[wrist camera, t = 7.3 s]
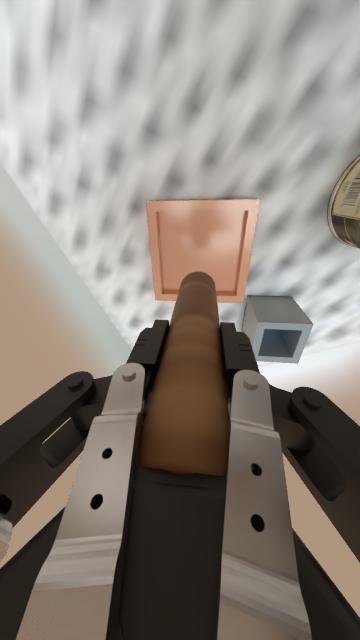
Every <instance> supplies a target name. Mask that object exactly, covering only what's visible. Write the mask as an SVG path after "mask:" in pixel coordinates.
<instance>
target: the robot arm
mask: <svg viewBox="0 0 360 640" xmlns="http://www.w3.org/2000/svg"><path fill="white" fill-rule="evenodd" d="M168 330H169V321H168V320H155V322H154V324H153V327H152V328H145V329H144V330H143V331H142V332H141V333H140V334H139V337H138V339H137V341H136V343H135V346H134V347H133V350H132V352H131V354H130V356H129V359H128V360H127V363H126V364H124V365H122V366H120V367H118V368H117V369H116V370H115V372H114V373H113V375H111V376H108V377H103V378H98V379H93V376H92V375H91V374H90V373H88V372H83V371H82V372H76V373H73V374H70V375H69V376H67V377H66V378H64V379H63V380H61V381H60V382H59V383H57V384H56V385H55V386H54V387H52V388H51V389H49V390H48V391H47V392H45V393H44V394H43V395H41V396H40V397H39V398H37V399H36V400H34V401H33V402H32V403H30V404H29V405H28V406H26V407H25V408H24V409H22V410H21V411H19V412H18V413H17V414H15V415H14V416H13V417H11V418H10V419H9V420H7V421H6V422H5V423H3V424H2V425H1V426H0V561H1V560H2V559H3V558H4V556H5V555H6V553H7V550H8V546H9V541H10V538H11V534H12V528H13V527H14V526H15V525H16V524H17V523H18V522H19V521H20V520H21V518H22V517H23V516H24V515H25V514H26V513H27V511H28V510H30V508H31V507H32V506H33V505H34V504H35V503H36V502H37V501H38V499H40V497H41V496H42V495H43V494H44V493H45V492H46V491H47V490H48V489H49V488H50V486H51V485H52V484H53V483H54V482H55V481H56V480H57V478H58V477H60V475H61V474H62V473H63V472H64V471H65V470H66V469H67V468H68V466H70V464H71V463H72V462H73V461H74V460H75V459H76V458H77V457H78V455H79V454H80V453H81V452H82V451H83V453H82V456H81V460H80V463H79V466H78V469H77V472H76V475H75V479H74V482H73V485H72V488H71V491H70V495H69V498H68V501H67V504H66V506H65V507H64V508H63V509H62V510H61V511H60V512H59V513H58V514H57V515H56V516H55V517H54V518H53V519H52V520H51V521H50V522H49V523H48V524H47V525H46V526H44V527H43V528H42V529H41V531H39V532H38V533H37V534H36V535H35V536H34V537H33V538H32V539H31V540H30V541H29V542H28V543H27V544H26V545H25V546H24V547H22V549H20V550H19V551H18V552H17V553H16V554H15V555H14V556H13V557H12V558H11V559H10V560H9V561H8V562H7V563H6V564H5V565H4V566H3V567H2V568H1V569H0V640H360V617H359V616H358V615H357V613H356V612H355V611H354V609H353V608H352V607H351V606H350V604H349V603H348V601H347V600H346V599H345V597H344V596H343V595H342V593H341V592H340V591H339V589H338V588H337V587H336V585H335V584H334V583H333V581H332V580H331V579H330V577H329V576H328V575H327V574H326V572H325V571H324V570H323V568H322V567H321V566H320V564H319V563H318V562H317V560H316V559H315V558H314V556H313V555H312V554H311V552H310V551H309V550H308V548H307V547H306V546H305V544H304V543H303V542H302V540H301V539H300V538H299V536H298V535H297V534H296V532H295V531H294V530H293V528H292V525H291V518H290V510H289V502H288V494H287V486H286V479H285V471H284V463H283V456H282V452H283V454H284V455H285V456H286V458H287V459H288V461H289V462H290V464H291V465H292V466H293V468H294V469H295V471H296V472H297V474H298V475H299V476H300V478H301V479H302V481H303V482H304V484H305V485H306V486H307V488H308V489H309V491H310V492H311V494H312V495H313V496H314V498H315V499H316V501H317V502H318V504H319V505H320V506H321V508H322V509H323V511H324V512H325V514H326V515H327V516H328V518H329V519H330V521H331V522H332V524H333V525H334V526H335V528H336V529H337V531H338V532H339V534H340V535H341V536H342V538H343V539H344V541H345V542H346V544H347V545H348V546H349V548H350V549H351V551H352V552H353V553H354V555H355V556H356V558H357V559H358V561H359V562H360V426H359V425H357V424H356V423H355V422H354V421H353V420H352V419H351V418H350V417H348V415H346V414H345V413H344V412H343V411H342V410H341V409H340V408H339V407H338V406H336V405H335V404H334V403H333V402H332V401H331V400H330V399H329V398H328V397H326V396H325V395H324V394H323V393H321V392H319V391H317V390H315V389H312V388H309V387H299V388H296V389H294V390H293V392H292V393H291V392H287V391H285V390H281V389H278V388H276V387H274V386H272V385H270V384H269V383H268V381H267V380H266V378H265V377H264V376H263V375H261V374H260V372H259V369H258V365H257V362H256V359H255V355H254V352H253V349H252V346H251V342H250V339H249V337H248V336H247V335H246V334H245V333H244V332H236V328H235V324H234V323H226V322H221V323H220V338H221V347H222V357H223V367H224V377H225V383H226V392H227V401H228V411H229V431H228V446H227V471H224V476H218V475H209V474H200V473H193V474H188V475H182V476H180V475H176V474H174V473H171V472H169V471H167V470H165V469H156V468H147V467H140V464H141V462H135V460H136V454H137V452H138V451H139V449H140V442H141V436H142V430H143V423H144V420H145V416H146V412H147V408H148V405H149V401H150V397H151V394H152V390H153V386H154V382H155V379H156V375H157V371H158V368H159V364H160V360H161V356H162V353H163V349H164V345H165V341H166V338H167V334H168ZM69 418H70V419H69ZM67 419H69V420H68V421H67V422H66V423H65V424H64V425H63V426H62V427H61V428H60V429H59V430H58V431H56V432H55V433H54V434H53V435H52V436H51V437H50V438H49V439H48V440H47V441H45V440H46V439H47V438H48V437H49V436H50V435H51V434H52V433H53V432H54V431H55V430H56V429H58V428H59V427H60V426H61V425H62V424H63V423H64V422H65V421H66V420H67ZM44 441H45V443H43V442H44ZM42 443H43V444H42Z"/></svg>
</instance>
